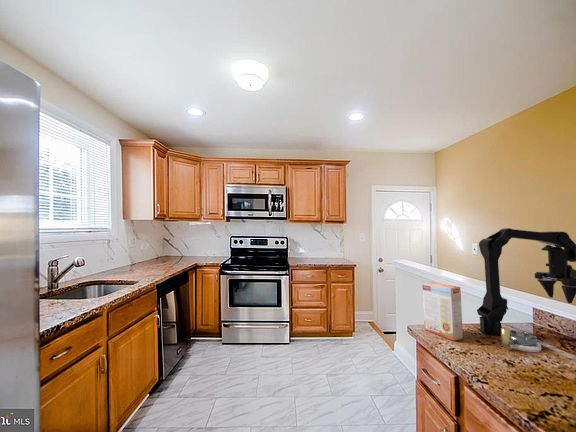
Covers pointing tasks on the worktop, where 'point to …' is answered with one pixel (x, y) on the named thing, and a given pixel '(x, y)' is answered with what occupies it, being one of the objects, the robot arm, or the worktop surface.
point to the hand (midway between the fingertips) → (560, 300)
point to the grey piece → (517, 338)
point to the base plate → (527, 347)
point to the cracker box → (442, 310)
